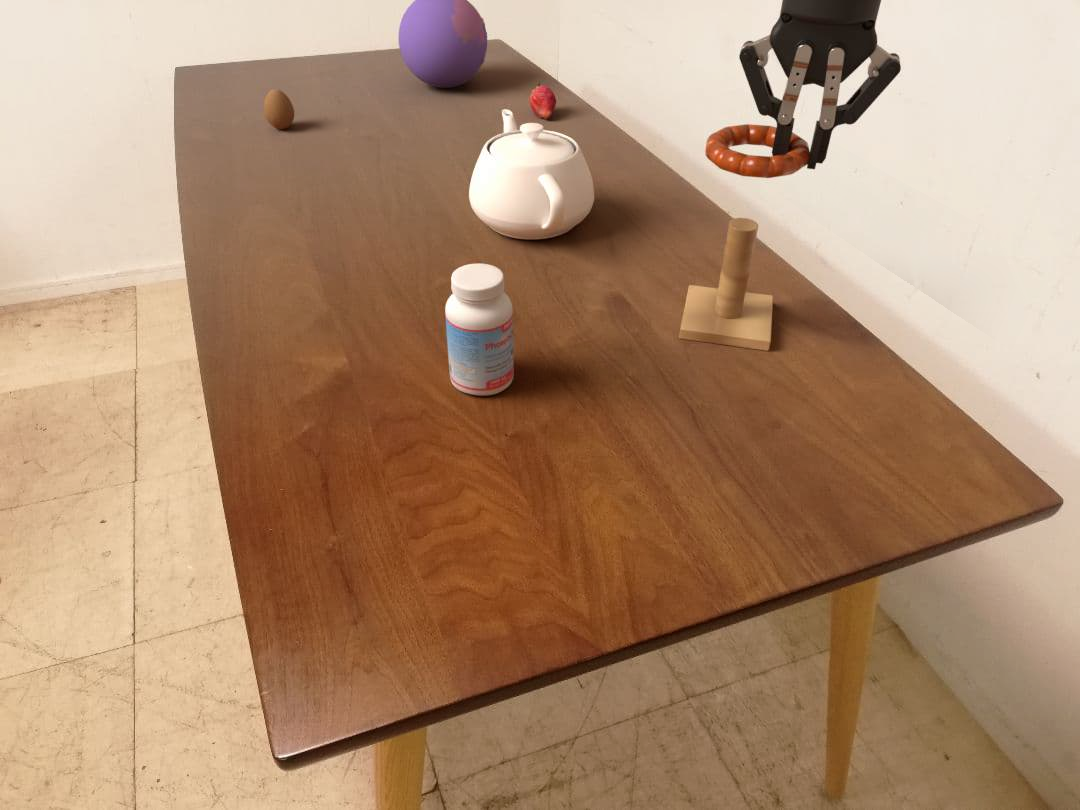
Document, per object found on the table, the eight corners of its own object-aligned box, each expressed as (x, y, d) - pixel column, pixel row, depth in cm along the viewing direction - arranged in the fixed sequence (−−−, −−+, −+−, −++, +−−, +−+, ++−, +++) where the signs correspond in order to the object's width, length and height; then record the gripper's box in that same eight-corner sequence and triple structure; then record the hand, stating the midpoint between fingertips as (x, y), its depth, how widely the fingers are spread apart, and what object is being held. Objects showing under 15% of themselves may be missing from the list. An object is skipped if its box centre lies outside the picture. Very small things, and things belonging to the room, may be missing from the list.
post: (770, 304, 89) (791, 209, 82) (768, 351, 82) (791, 251, 75) (687, 293, 91) (701, 199, 83) (678, 338, 84) (692, 239, 77)
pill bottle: (500, 404, 75) (497, 299, 68) (439, 390, 77) (430, 286, 70) (523, 367, 80) (522, 265, 73) (465, 355, 81) (458, 254, 74)
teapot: (620, 256, 97) (628, 156, 89) (492, 273, 94) (489, 171, 86) (559, 172, 116) (561, 84, 108) (451, 184, 112) (445, 93, 105)
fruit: (534, 123, 130) (534, 91, 127) (526, 110, 135) (526, 79, 132) (560, 121, 131) (560, 89, 128) (551, 108, 136) (551, 77, 133)
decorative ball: (495, 97, 140) (493, 1, 130) (407, 102, 137) (397, 5, 128) (481, 69, 151) (478, -20, 142) (399, 74, 149) (390, -17, 139)
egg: (294, 133, 126) (287, 94, 122) (265, 134, 126) (256, 94, 122) (299, 123, 130) (292, 84, 126) (270, 123, 129) (262, 84, 126)
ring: (805, 144, 78) (809, 125, 77) (809, 185, 71) (813, 165, 70) (707, 137, 79) (709, 118, 78) (701, 175, 72) (704, 156, 71)
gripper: (933, -55, 65) (875, 157, 75) (755, -66, 68) (724, 140, 79) (941, -36, 59) (876, 191, 70) (746, -48, 62) (714, 170, 73)
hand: (796, 163), depth 74 cm, fingers closed on ring, 2 cm apart
